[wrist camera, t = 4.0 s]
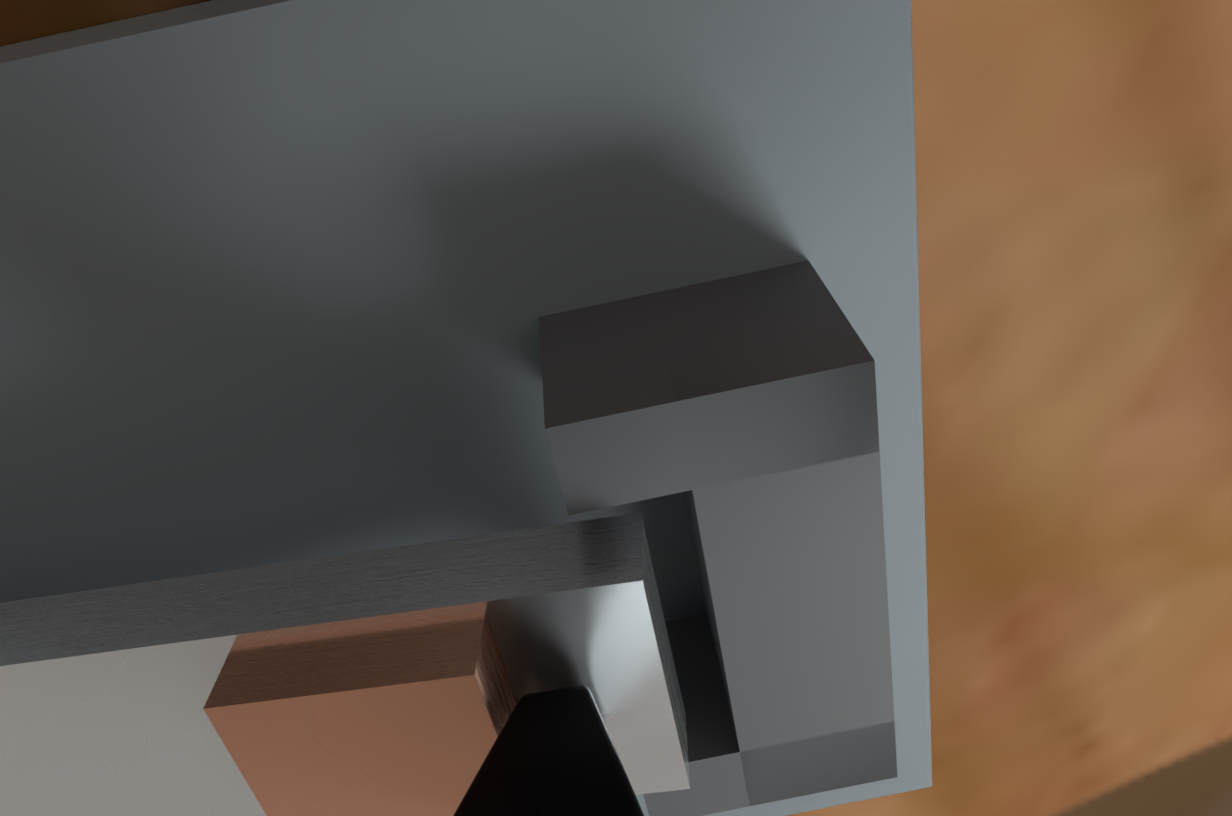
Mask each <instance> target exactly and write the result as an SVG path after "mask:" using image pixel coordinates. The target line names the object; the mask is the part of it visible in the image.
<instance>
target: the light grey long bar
mask: <svg viewBox="0 0 1232 816" xmlns="http://www.w3.org/2000/svg"><path fill="white" fill-rule="evenodd" d="M579 685H585V686H587V687H588V688H589V689H590V691H591V693H592V695H593V697H594V700H595V702H596V704H597V707H598V709H599V711H600V714H601V716H602V718H603V721H604V723H605V725H606V728H607V730H608V732H609V735H610V737H611V739H612V742H613V744H614V746H615V748H616V751H617V753H618V755H619V758H620V760H621V762H622V765H623V767H624V769H625V772H626V774H627V776H628V779H629V781H630V783H631V786H632V788H633V790H634V793H635V795H638V794H647V793H656V792H665V791H674V790H683V789H690V778H689V762H688V746H687V730H686V714H685V710H684V705H683V700H682V696H681V691H680V687H679V682H678V678H677V673H676V669H675V664H674V659H673V655H672V650H671V646H670V641H669V637H668V632H667V627H666V623H665V618H664V614H663V609H662V605H661V600H660V595H659V591H658V586H657V582H656V577H655V573H654V568H653V564H652V559H651V554H650V550H649V545H648V541H647V536H646V532H645V527H644V522H643V518H642V513H634V514H626V515H619V516H612V517H605V518H598V519H591V520H584V521H577V522H570V523H562V524H555V525H548V526H541V527H534V528H527V529H520V530H513V531H506V532H499V533H491V534H484V535H477V536H470V537H463V538H456V539H449V540H442V541H435V542H428V543H420V544H413V545H406V546H399V547H392V548H385V549H378V550H371V551H364V552H357V553H349V554H342V555H335V556H328V557H321V558H314V559H307V560H300V561H293V562H285V563H278V564H271V565H264V566H257V567H250V568H243V569H236V570H229V571H222V572H214V573H207V574H200V575H193V576H186V577H179V578H172V579H165V580H158V581H151V582H143V583H136V584H129V585H122V586H115V587H108V588H101V589H94V590H87V591H80V592H72V593H65V594H58V595H51V596H44V597H37V598H30V599H23V600H16V601H8V602H1V603H0V816H453V815H454V813H455V812H456V810H457V808H458V806H459V805H460V803H461V801H462V799H463V797H464V796H465V794H466V792H467V790H468V789H469V787H470V785H471V783H472V781H473V780H474V778H475V776H476V774H477V773H478V771H479V769H480V767H481V765H482V764H483V762H484V760H485V758H486V757H487V755H488V753H489V751H490V749H491V748H492V746H493V744H494V742H495V740H496V739H497V737H498V735H499V733H500V732H501V730H502V728H503V726H504V724H505V723H506V721H507V719H508V717H509V716H510V714H511V712H512V710H513V708H514V707H515V705H516V703H517V701H518V700H519V699H520V698H521V697H522V696H523V695H524V694H527V693H533V692H540V691H546V690H553V689H560V688H566V687H573V686H579Z"/></svg>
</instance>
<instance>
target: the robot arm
mask: <svg viewBox="0 0 1232 816" xmlns="http://www.w3.org/2000/svg"><path fill="white" fill-rule="evenodd" d="M453 816H644V813H643V811H642V809H641V806H640V804H639V802H638V799H637V797H636V795H635V793H634V790H633V788H632V786H631V783H630V781H629V779H628V776H627V774H626V772H625V769H624V767H623V765H622V762H621V760H620V758H619V755H618V753H617V751H616V748H615V746H614V744H613V742H612V739H611V737H610V735H609V732H608V730H607V728H606V725H605V723H604V721H603V718H602V716H601V714H600V711H599V709H598V707H597V704H596V702H595V700H594V697H593V695H592V693H591V691H590V689H589V688H588V687H587V686H585V685H579V686H573V687H566V688H560V689H553V690H546V691H540V692H533V693H527V694H524V695H523V696H522V697H521V698H520V699H519V700H518V701H517V703H516V705H515V707H514V708H513V710H512V712H511V714H510V716H509V717H508V719H507V721H506V723H505V724H504V726H503V728H502V730H501V732H500V733H499V735H498V737H497V739H496V740H495V742H494V744H493V746H492V748H491V749H490V751H489V753H488V755H487V757H486V758H485V760H484V762H483V764H482V765H481V767H480V769H479V771H478V773H477V774H476V776H475V778H474V780H473V781H472V783H471V785H470V787H469V789H468V790H467V792H466V794H465V796H464V797H463V799H462V801H461V803H460V805H459V806H458V808H457V810H456V812H455V813H454V815H453Z"/></svg>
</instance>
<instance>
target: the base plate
mask: <svg viewBox="0 0 1232 816" xmlns="http://www.w3.org/2000/svg"><path fill="white" fill-rule="evenodd" d="M634 513H642V518H643V522H644V527H645V532H646V536H647V541H648V545H649V550H650V554H651V559H652V564H653V568H654V573H655V577H656V582H657V586H658V591H659V595H660V600H661V605H662V609H663V614H664V618H665V623H666V627H667V632H668V637H669V641H670V646H671V650H672V655H673V659H674V664H675V669H676V673H677V678H678V682H679V687H680V691H681V696H682V700H683V705H684V710H685V714H686V730H687V746H688V762H689V778H690V789H683V790H674V791H665V792H656V793H647V794H638V795H636V797H637V799H638V802H639V804H640V806H641V809H642V811H643V813H644V816H785V815H790V814H796V813H801V812H806V811H811V810H816V809H821V808H826V807H831V806H836V805H841V804H846V803H851V802H856V801H861V800H866V799H871V798H877V797H882V796H887V795H892V794H897V793H902V792H907V791H912V790H917V789H922V788H927V787H932V763H931V726H930V688H929V651H928V613H927V576H926V538H925V501H924V464H923V426H922V389H921V351H920V314H919V276H918V239H917V202H916V164H915V127H914V89H913V52H912V14H911V0H211V1H207V2H202V3H197V4H193V5H188V6H184V7H179V8H174V9H170V10H165V11H161V12H156V13H151V14H147V15H142V16H138V17H133V18H129V19H124V20H119V21H115V22H110V23H106V24H101V25H96V26H92V27H87V28H83V29H78V30H73V31H69V32H64V33H60V34H55V35H51V36H46V37H41V38H37V39H32V40H28V41H23V42H18V43H14V44H9V45H5V46H0V603H1V602H8V601H16V600H23V599H30V598H37V597H44V596H51V595H58V594H65V593H72V592H80V591H87V590H94V589H101V588H108V587H115V586H122V585H129V584H136V583H143V582H151V581H158V580H165V579H172V578H179V577H186V576H193V575H200V574H207V573H214V572H222V571H229V570H236V569H243V568H250V567H257V566H264V565H271V564H278V563H285V562H293V561H300V560H307V559H314V558H321V557H328V556H335V555H342V554H349V553H357V552H364V551H371V550H378V549H385V548H392V547H399V546H406V545H413V544H420V543H428V542H435V541H442V540H449V539H456V538H463V537H470V536H477V535H484V534H491V533H499V532H506V531H513V530H520V529H527V528H534V527H541V526H548V525H555V524H562V523H570V522H577V521H584V520H591V519H598V518H605V517H612V516H619V515H626V514H634Z"/></svg>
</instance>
